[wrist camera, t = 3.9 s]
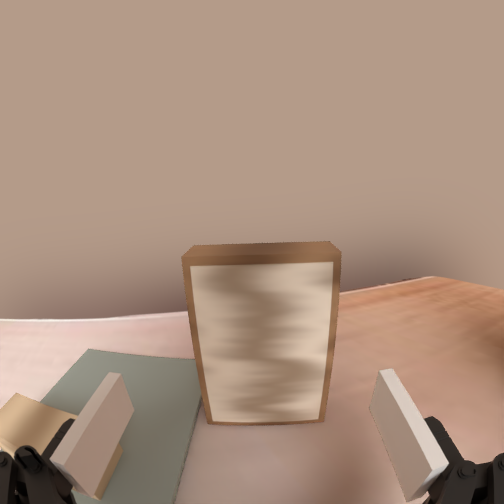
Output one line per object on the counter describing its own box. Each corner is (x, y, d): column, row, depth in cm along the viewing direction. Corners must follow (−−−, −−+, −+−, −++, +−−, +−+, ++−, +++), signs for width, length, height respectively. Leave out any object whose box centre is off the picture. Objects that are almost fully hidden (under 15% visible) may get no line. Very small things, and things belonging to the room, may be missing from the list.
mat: (211, 363, 27) (210, 359, 27) (162, 546, 8) (160, 544, 8) (89, 352, 28) (88, 348, 28) (-7, 467, 9) (-10, 463, 8)
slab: (318, 397, 22) (329, 241, 18) (323, 422, 18) (342, 252, 15) (213, 399, 22) (193, 245, 19) (207, 425, 19) (180, 257, 16)
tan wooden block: (123, 450, 15) (109, 424, 14) (100, 500, 10) (79, 478, 9) (31, 418, 15) (16, 392, 15) (4, 452, 10) (-16, 426, 10)
